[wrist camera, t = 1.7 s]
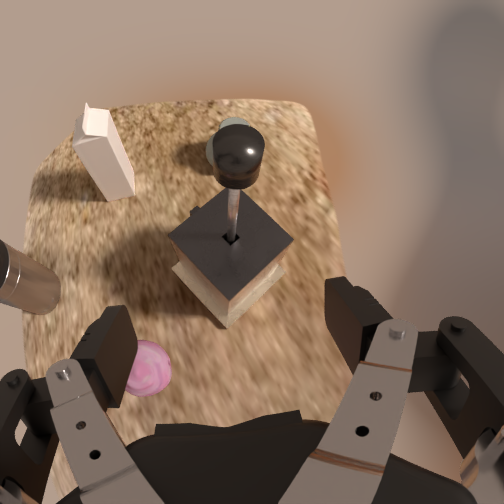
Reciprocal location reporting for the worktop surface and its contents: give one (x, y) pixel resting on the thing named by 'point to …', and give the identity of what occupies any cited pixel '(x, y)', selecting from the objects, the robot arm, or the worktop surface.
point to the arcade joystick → (229, 256)
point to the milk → (103, 154)
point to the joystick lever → (236, 166)
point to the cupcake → (149, 370)
